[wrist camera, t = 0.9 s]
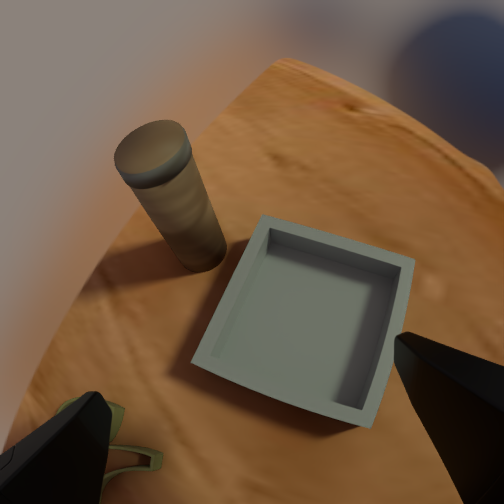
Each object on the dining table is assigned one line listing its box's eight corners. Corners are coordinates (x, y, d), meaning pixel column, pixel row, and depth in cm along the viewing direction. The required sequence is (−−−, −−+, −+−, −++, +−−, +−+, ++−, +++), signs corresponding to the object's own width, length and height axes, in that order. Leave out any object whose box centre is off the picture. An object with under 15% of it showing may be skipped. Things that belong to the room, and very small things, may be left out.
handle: (213, 280, 25) (155, 177, 14) (169, 263, 26) (98, 166, 16) (236, 235, 27) (199, 121, 16) (193, 223, 28) (142, 117, 17)
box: (360, 425, 18) (370, 428, 15) (203, 368, 21) (190, 362, 19) (403, 276, 23) (415, 259, 20) (265, 234, 26) (262, 214, 24)
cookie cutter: (130, 576, 12) (121, 583, 10) (37, 510, 15) (24, 512, 13) (177, 431, 19) (167, 433, 18) (69, 374, 22) (55, 370, 21)
